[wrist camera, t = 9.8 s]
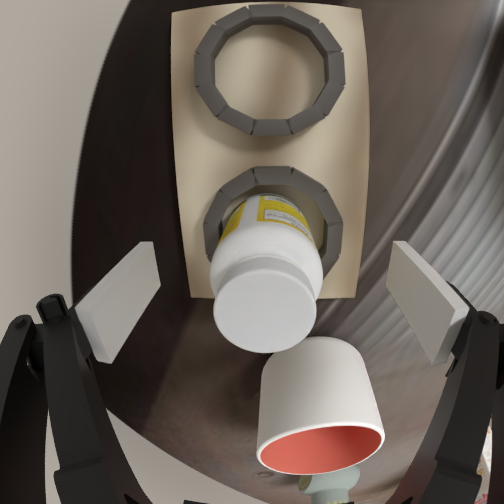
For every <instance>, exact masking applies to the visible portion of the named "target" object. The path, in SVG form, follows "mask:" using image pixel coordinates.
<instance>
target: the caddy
mask: <svg viewBox="0 0 504 504" xmlns="http://www.w3.org/2000/svg"><path fill="white" fill-rule="evenodd" d="M171 93H172V120H173V139H174V154H175V168H176V180H177V191H178V201H179V210H180V220H181V228H182V237H183V244H184V252H185V259H186V267H187V274H188V280H189V287H190V293H191V298H215V296H214V293H213V291H212V288H211V284H210V265H211V261H212V258H213V255H214V252H215V250H216V248H217V245H218V243H219V241H220V239H221V237H222V234H223V232H224V230H225V228H226V226H227V224H228V221H229V219H230V217H231V215H232V213H233V212H234V210H235V209H236V208H237V206H238V205H239V204H240V203H242V202H243V201H244V200H246V199H247V198H249V197H251V196H254V195H258V194H263V193H272V194H277V195H281V196H283V197H286V198H287V199H289V200H291V201H292V202H293V203H295V204H296V205H297V206H298V208H299V209H300V210H301V212H302V213H303V215H304V217H305V219H306V222H307V224H308V227H309V229H310V232H311V234H312V237H313V240H314V242H315V245H316V248H317V251H318V253H319V256H320V260H321V264H322V269H323V283H322V287H321V291H320V293H319V296H318V298H317V299H320V298H355V293H356V287H357V280H358V274H359V267H360V260H361V252H362V244H363V235H364V226H365V216H366V204H367V190H368V172H369V132H370V125H369V87H368V70H367V57H366V46H365V37H364V29H363V21H362V14H361V9H356V8H349V7H342V6H335V5H326V4H315V3H299V2H252V3H236V4H225V5H216V6H208V7H201V8H195V9H189V10H184V11H178V12H173V13H172V26H171Z"/></svg>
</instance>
